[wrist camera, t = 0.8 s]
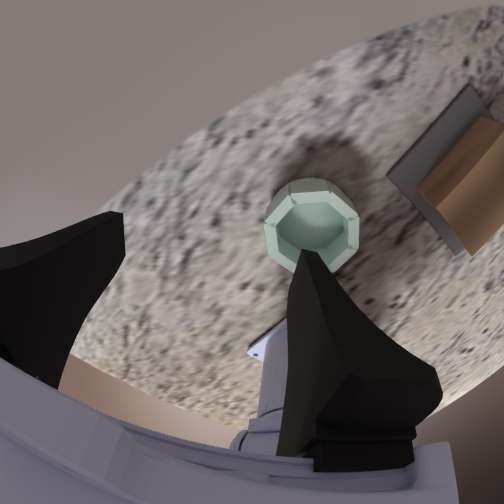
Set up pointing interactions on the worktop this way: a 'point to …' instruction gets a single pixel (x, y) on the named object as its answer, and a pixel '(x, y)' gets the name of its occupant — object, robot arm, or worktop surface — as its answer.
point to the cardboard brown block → (470, 185)
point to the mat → (438, 156)
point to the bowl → (311, 223)
